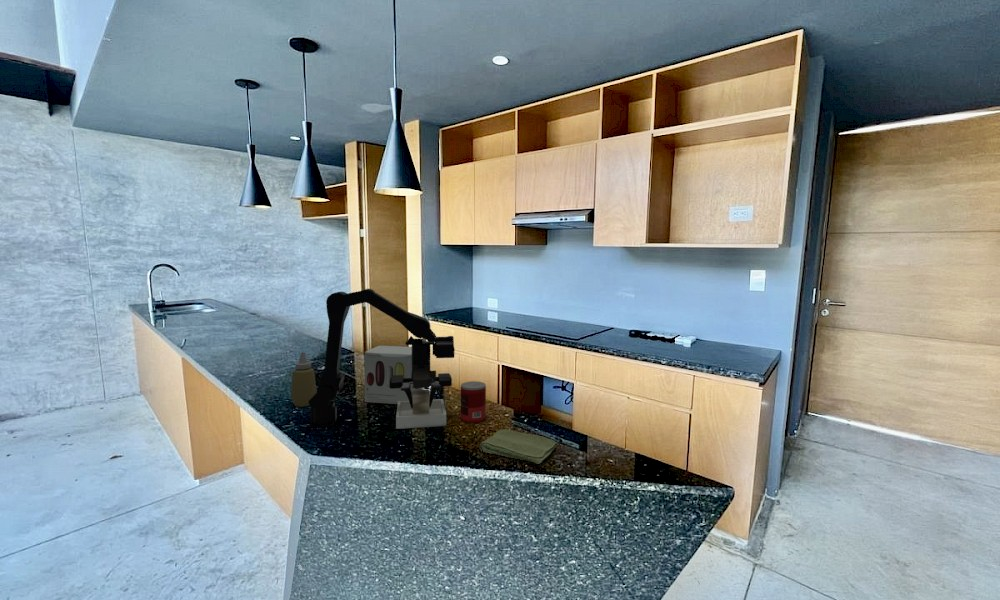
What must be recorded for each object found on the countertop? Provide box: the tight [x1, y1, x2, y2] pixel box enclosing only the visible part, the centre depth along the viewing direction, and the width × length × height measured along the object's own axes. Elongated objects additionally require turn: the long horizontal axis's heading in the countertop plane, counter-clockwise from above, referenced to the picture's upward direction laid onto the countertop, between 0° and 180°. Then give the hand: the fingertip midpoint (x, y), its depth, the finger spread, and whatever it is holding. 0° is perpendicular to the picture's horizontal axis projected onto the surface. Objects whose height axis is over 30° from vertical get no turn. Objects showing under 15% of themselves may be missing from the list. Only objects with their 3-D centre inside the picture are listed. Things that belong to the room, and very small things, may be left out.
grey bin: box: [395, 398, 447, 430], centre depth 128 cm, size 15×15×4 cm
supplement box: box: [364, 345, 424, 405], centre depth 147 cm, size 17×13×18 cm
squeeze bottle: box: [290, 351, 317, 408], centre depth 139 cm, size 8×8×18 cm
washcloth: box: [479, 428, 558, 465], centre depth 107 cm, size 13×18×3 cm
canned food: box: [460, 380, 487, 424], centre depth 128 cm, size 8×8×11 cm
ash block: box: [413, 389, 430, 414], centre depth 128 cm, size 5×5×6 cm
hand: (420, 407), depth 128 cm, fingers closed on ash block, 5 cm apart
